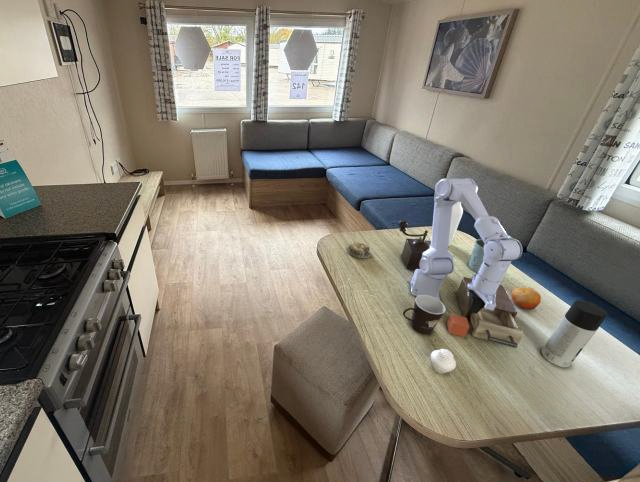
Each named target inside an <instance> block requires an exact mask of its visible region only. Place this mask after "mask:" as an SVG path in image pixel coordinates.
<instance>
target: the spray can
mask: <svg viewBox="0 0 640 482" xmlns="http://www.w3.org/2000/svg"><path fill="white" fill-rule="evenodd" d="M607 317H608V313H607V312H606V310H605V309H603V308H602V307H601V306H599V305H597V304H595V303H591V302H589V301H585V300H581V299H577V300H575V301H574V302H572V304H571V305H570V307H569V308H568V310H567V311H566V313H565V314H564V315H563V317H562V318H561V320H560V322H559V323H558V324H557V326H556V327H555V329H554V330H553V332H552V334H551V335H550V337H549V338H548V339H547V341H546V343H545V344H544V346H543V347H542V349H541V354H542V356H543V358H544V359H545V360H546V361H547V362H549V363H551V364H553V365H554V366H557V367H561V368H568V367H570V366H571V365H572V364H573V363H574V361H575V360H576V359H577V357H578V356H579V355H580V354H581V352H582V351H583V349H584V348H585V346H586V345H587V344H588V343H589V341H591V339H592V337H594V335H595V334H596V332H597V331H598V330H599V328H600V327H601V325H602V324H603V323H604V321H605V320H606V318H607Z"/></svg>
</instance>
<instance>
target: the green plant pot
mask: <svg viewBox="0 0 640 482" xmlns="http://www.w3.org/2000/svg"><path fill="white" fill-rule="evenodd" d="M484 245H485V243H484V242H483V240H482V238H478V239H476V240H475V242H474V245H473V249H472V253H471V255H470V259H469V262H468V268H469V269H470V270H472V271H473V272H475V273H476V274H478V271H479V269H480V267H481V265H482V263H483V257H484Z"/></svg>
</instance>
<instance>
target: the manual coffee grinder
mask: <svg viewBox="0 0 640 482" xmlns="http://www.w3.org/2000/svg"><path fill="white" fill-rule="evenodd" d="M397 226H398V227H399V231H400V233H401V232H402V234H403V235H404V236H406V237H407V238H405V242H404V245H403V248H402V252H401V254H400V259H401V261H402V263H403V266H404V268H405V269H407V270H412V271H415V270H416V269H420V260H421V258H422V253H423V252H425V251H426V250H428V249H429V248H430V247H431V240H426V238H427V236H428V233H429V230H424V232H423V233H421V234H410V233H407V227H408V226H409V223H408V221H407V220H404V219H401V220H399V221H398V222H397ZM408 237H410V238H408ZM413 237H415V238H413ZM417 237H419V238H417Z"/></svg>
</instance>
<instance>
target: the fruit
mask: <svg viewBox="0 0 640 482" xmlns="http://www.w3.org/2000/svg"><path fill="white" fill-rule="evenodd" d="M510 297H511V300H512V302H513V304H515V305H516V306H517V307H518V308H520V309H522V310H525V311H532V310H535V309H536V308H537V307H538V306H539V305H540V304H541V300H542V295H541V294H540V293H539V292H538V291H537V290H536V289H534V288H531V287H529V286H528V287H526V286H519V287H515V288H514V289H513V290H512V292H511V295H510Z"/></svg>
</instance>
